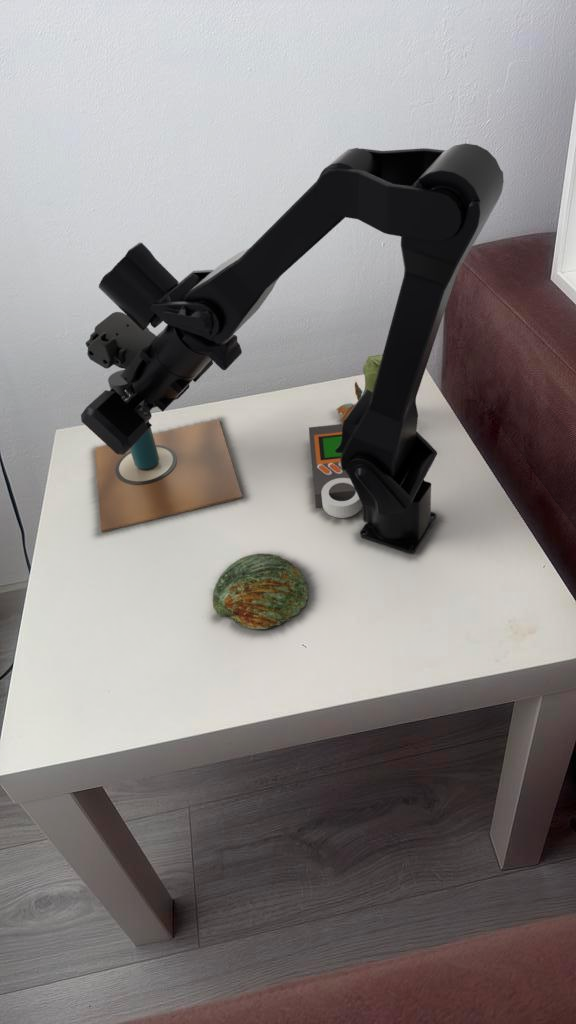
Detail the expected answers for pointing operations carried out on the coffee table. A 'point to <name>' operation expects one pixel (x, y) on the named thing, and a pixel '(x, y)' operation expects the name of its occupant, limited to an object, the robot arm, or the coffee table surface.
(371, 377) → the green tall rounded piece
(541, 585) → the coffee table surface
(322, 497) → the electronic device
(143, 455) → the cylinder
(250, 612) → the seashell
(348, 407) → the dragon figurine
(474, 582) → the coffee table surface
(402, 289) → the robot arm
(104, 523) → the brown square board
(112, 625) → the coffee table surface
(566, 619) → the coffee table surface
